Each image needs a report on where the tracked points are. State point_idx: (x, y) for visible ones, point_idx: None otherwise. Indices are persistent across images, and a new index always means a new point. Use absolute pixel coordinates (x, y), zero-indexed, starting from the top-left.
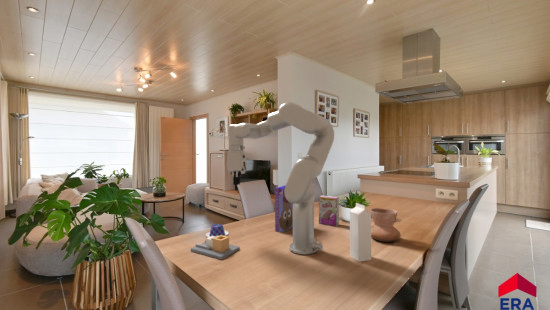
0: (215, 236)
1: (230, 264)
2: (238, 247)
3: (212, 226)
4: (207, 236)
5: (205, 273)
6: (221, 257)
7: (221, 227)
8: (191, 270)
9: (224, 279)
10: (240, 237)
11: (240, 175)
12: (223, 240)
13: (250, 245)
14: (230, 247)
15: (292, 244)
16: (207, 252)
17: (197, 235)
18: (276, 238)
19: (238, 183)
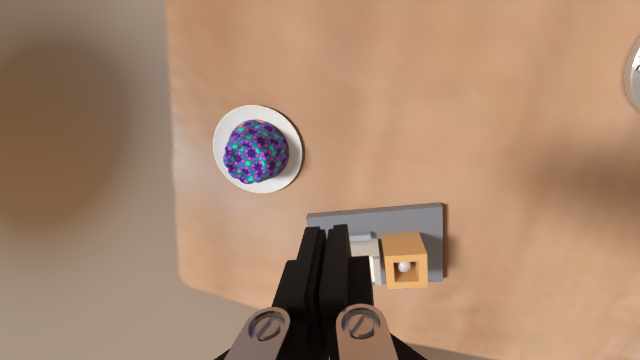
0: (374, 267)
1: (484, 281)
2: (442, 212)
3: (244, 182)
4: (254, 189)
5: (459, 332)
6: (442, 279)
7: (271, 156)
8: (418, 337)
9: (520, 330)
10: (359, 118)
11: (405, 353)
12: (427, 276)
13: (452, 156)
14: (418, 226)
15: (638, 64)
16: (384, 281)
17: (213, 197)
18: (513, 25)
19: (350, 253)
